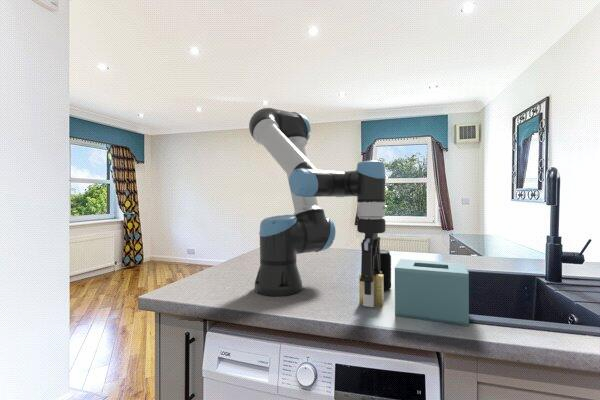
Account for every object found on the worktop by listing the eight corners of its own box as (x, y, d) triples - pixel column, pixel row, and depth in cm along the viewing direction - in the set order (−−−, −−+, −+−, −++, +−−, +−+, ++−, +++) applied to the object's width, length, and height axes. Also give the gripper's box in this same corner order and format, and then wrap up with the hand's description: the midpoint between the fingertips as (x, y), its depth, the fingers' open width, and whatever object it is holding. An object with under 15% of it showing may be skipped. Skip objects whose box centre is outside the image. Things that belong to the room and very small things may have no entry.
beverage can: (392, 292, 95) (391, 253, 95) (370, 291, 97) (370, 252, 96) (390, 286, 102) (390, 249, 102) (369, 285, 103) (369, 249, 103)
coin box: (394, 315, 76) (394, 267, 76) (400, 300, 87) (400, 258, 87) (468, 326, 70) (468, 273, 69) (465, 308, 80) (464, 263, 80)
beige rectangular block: (359, 304, 85) (359, 274, 85) (361, 300, 88) (361, 272, 88) (381, 307, 82) (381, 276, 82) (383, 303, 85) (383, 274, 85)
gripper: (378, 220, 74) (378, 316, 74) (390, 216, 92) (391, 293, 93) (347, 219, 77) (348, 311, 77) (365, 215, 96) (365, 290, 96)
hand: (371, 301), depth 85 cm, fingers open, 7 cm apart
